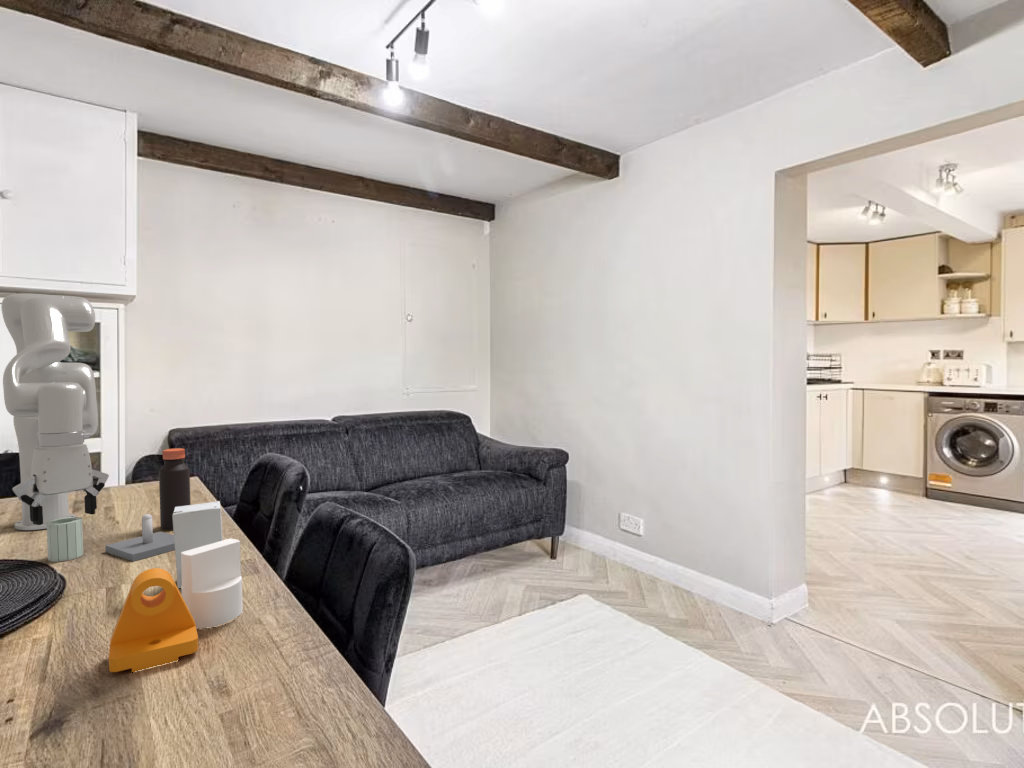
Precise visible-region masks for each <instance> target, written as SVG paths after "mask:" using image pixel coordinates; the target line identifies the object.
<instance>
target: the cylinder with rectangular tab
mask: <svg viewBox="0 0 1024 768" xmlns="http://www.w3.org/2000/svg"><path fill="white" fill-rule="evenodd" d="M241 565H242V564H241V541H240V540H239V539H235V538H227V539H223V541H219V542H216V543H212V544H209V545H205V546H201V547H198V548H194V549H191V550H187V551H184V552H181V572H182V587H181V589H180V590H181V595H182V597H183V599H184V601H185V603H186V605H187V607H188V609H189V611H190V613H191V615H192V617H193V619H194V621H195V625H196V628H207V627H214V626H218V625H220V624H224V623H226V622H228V621H230V620H232V619H234V618H236V617H237V616H239V615H240V614H241V613H242V614H243V612H242V610H243V607H244V606H243V577H242V569H241Z"/></svg>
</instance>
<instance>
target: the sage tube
mask: <svg viewBox="0 0 1024 768" xmlns="http://www.w3.org/2000/svg"><path fill="white" fill-rule="evenodd" d="M83 535H84V534H83V518H82V517H80V516H76V517H67V518H60V519H55V520H52V521H49V522H47V529H46V544H47V560H48V562H53V563H54V562H56V563H57V562H58V563H59V562H65V561H71V560H75V559H78V558H81V557H82V556H83V555H84V540H83V539H84V537H83Z"/></svg>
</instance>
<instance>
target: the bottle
mask: <svg viewBox="0 0 1024 768" xmlns="http://www.w3.org/2000/svg"><path fill="white" fill-rule="evenodd" d="M185 450H186V449H185V448H180V447H178V448H176V447H175V448H167V449H164V450H162V459H163V460H162V461H163V462H164V463H163V464H164V465H162V467H160V469H159V470H158V482H159V483H158V485H159V489H158V490H159V509H160V510H159V513H160V514H159V515H160V516H159V518H160V521H159V522H160V528H161V529H162V530H164V531H173V518H172V515H173V512H174V509H175V507H179V506H187V505H192V504H191V478H190V473H191V472H190V471H191V470H190V467H189V466H188V465H187V464H186V463H185V460H186V454H185V453H186V451H185Z"/></svg>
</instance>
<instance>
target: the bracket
mask: <svg viewBox="0 0 1024 768" xmlns="http://www.w3.org/2000/svg"><path fill="white" fill-rule="evenodd" d="M132 581H133V582H132V584H131V585H130V588H129V590H128V594H127V596H126V599H125V602H124V603H123V606H122V608H121V610H120V613H119V617H118V619H117V621H116V624H115V626H114V630H113V631H112V634H111V636H110V639H109V641H110V642H109V649H108V650H109V652H108V671H109V673H118V672H123V671H126V670H129V669H130V670H131V673H132V672H135V671H138V670H142V669H146V668H149V667H153V666H157V665H162V664H165V663H170V662H173V661H177V660H179V657H183V656H186V655H188V656H189V655H190V654H194V653H196V652H198V650H199V634H198V631H197V629H196V625H195V621H194V619H193V617H192V615H191V613H190V611H189V609H188V607H187V605H186V603H185V601H184V599H183V597H182V592H181V591H180V589H178V585H177V584H176V581H175V579H174V578H173V576H172V575H171V573H170V572H169V571H168V570H166V569H163V568H159V567H154V568H149V569H146V570H143V571H142V572H140V573H139V574H138V575H137V576H136V577H135V578H134V580H132ZM151 587H160V588H162V589H161V591H160V592H159V593H158V594H156V595H151V596H148V595H146V594H144V591H146V590H147V589H149V588H151Z"/></svg>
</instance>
